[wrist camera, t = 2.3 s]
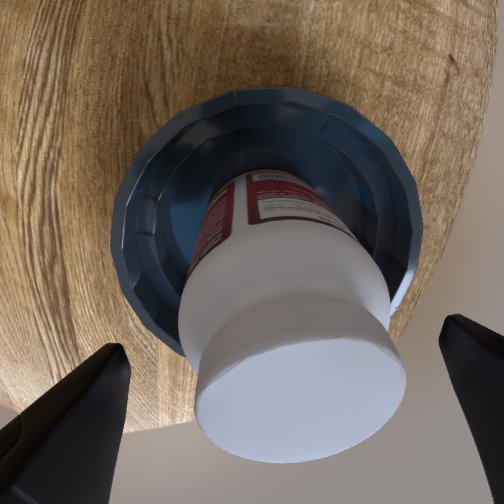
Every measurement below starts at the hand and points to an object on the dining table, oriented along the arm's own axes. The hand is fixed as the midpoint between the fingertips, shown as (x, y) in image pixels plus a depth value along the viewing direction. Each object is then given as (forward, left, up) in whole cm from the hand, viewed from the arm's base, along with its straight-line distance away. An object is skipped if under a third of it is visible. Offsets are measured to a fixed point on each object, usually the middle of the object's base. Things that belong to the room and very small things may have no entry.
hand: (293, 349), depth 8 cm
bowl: (0, 0, -9) cm, 9 cm away
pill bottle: (0, 0, -9) cm, 9 cm away
